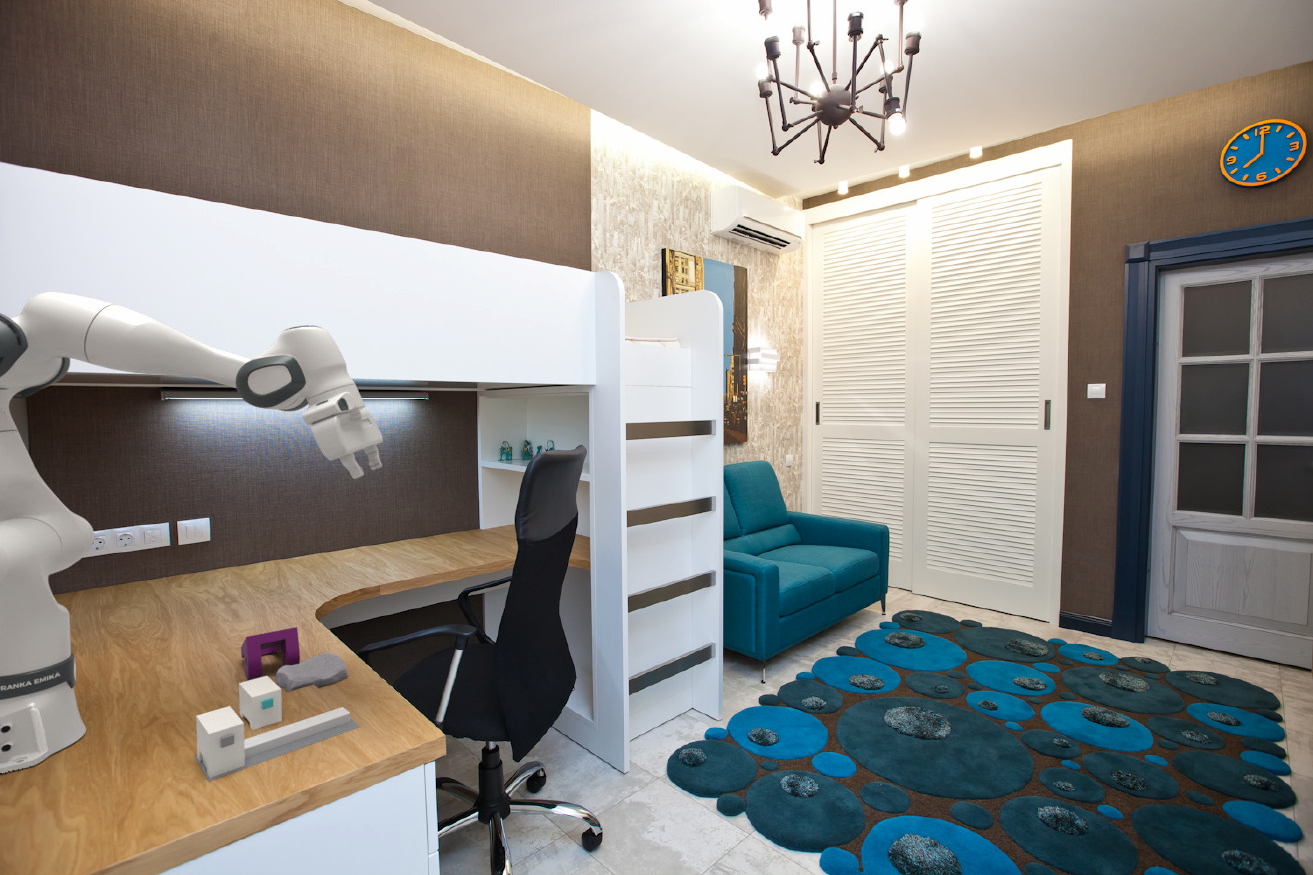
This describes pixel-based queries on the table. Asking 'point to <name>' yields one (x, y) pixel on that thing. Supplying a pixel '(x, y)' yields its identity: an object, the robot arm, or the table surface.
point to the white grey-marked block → (220, 741)
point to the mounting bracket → (269, 650)
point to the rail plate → (288, 747)
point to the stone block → (312, 672)
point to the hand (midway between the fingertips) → (368, 472)
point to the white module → (260, 702)
